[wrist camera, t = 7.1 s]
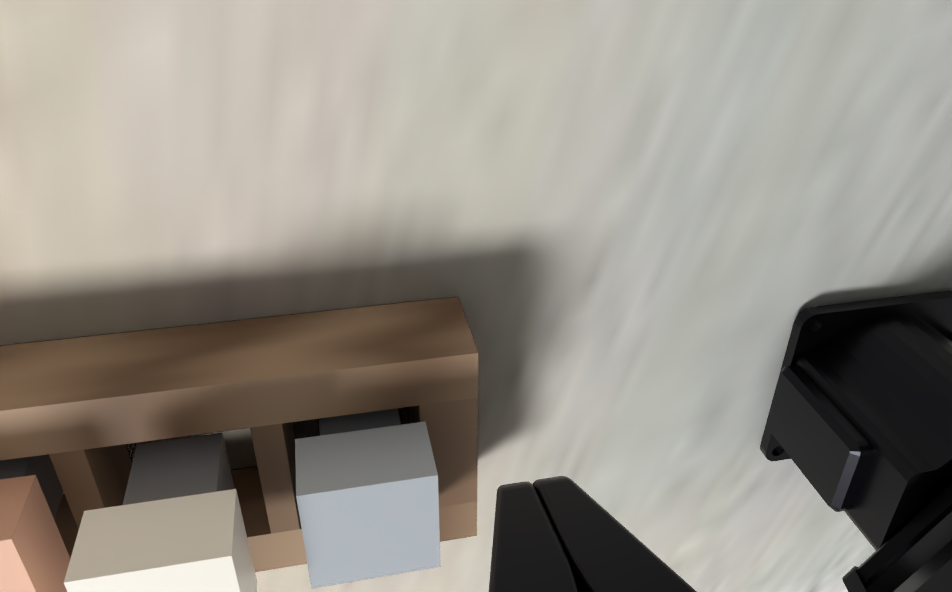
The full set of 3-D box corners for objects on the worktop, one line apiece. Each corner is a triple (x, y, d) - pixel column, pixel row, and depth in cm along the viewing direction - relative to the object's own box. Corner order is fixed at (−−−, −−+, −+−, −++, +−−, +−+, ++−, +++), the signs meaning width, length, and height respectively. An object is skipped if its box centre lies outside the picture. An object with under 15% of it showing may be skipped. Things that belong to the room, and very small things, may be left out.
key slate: (411, 359, 23) (437, 474, 19) (415, 444, 25) (440, 566, 21) (294, 373, 22) (296, 496, 18) (306, 459, 24) (311, 588, 20)
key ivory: (241, 412, 21) (231, 556, 17) (259, 501, 22) (254, 650, 19) (106, 430, 20) (63, 582, 16) (137, 520, 22) (104, 677, 18)
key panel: (458, 296, 22) (478, 352, 20) (459, 471, 26) (476, 535, 24) (-162, 363, 19) (-222, 437, 17) (-61, 548, 23) (-99, 630, 21)
